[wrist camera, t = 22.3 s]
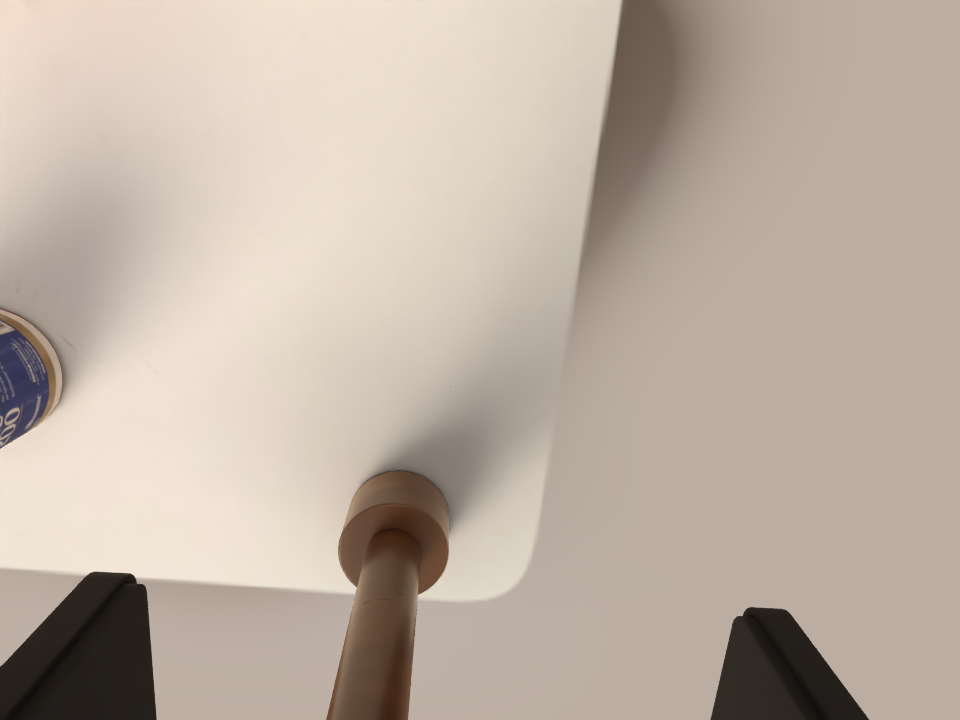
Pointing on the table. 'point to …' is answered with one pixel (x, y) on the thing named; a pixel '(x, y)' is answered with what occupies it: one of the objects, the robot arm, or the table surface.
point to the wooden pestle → (387, 590)
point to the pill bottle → (25, 377)
